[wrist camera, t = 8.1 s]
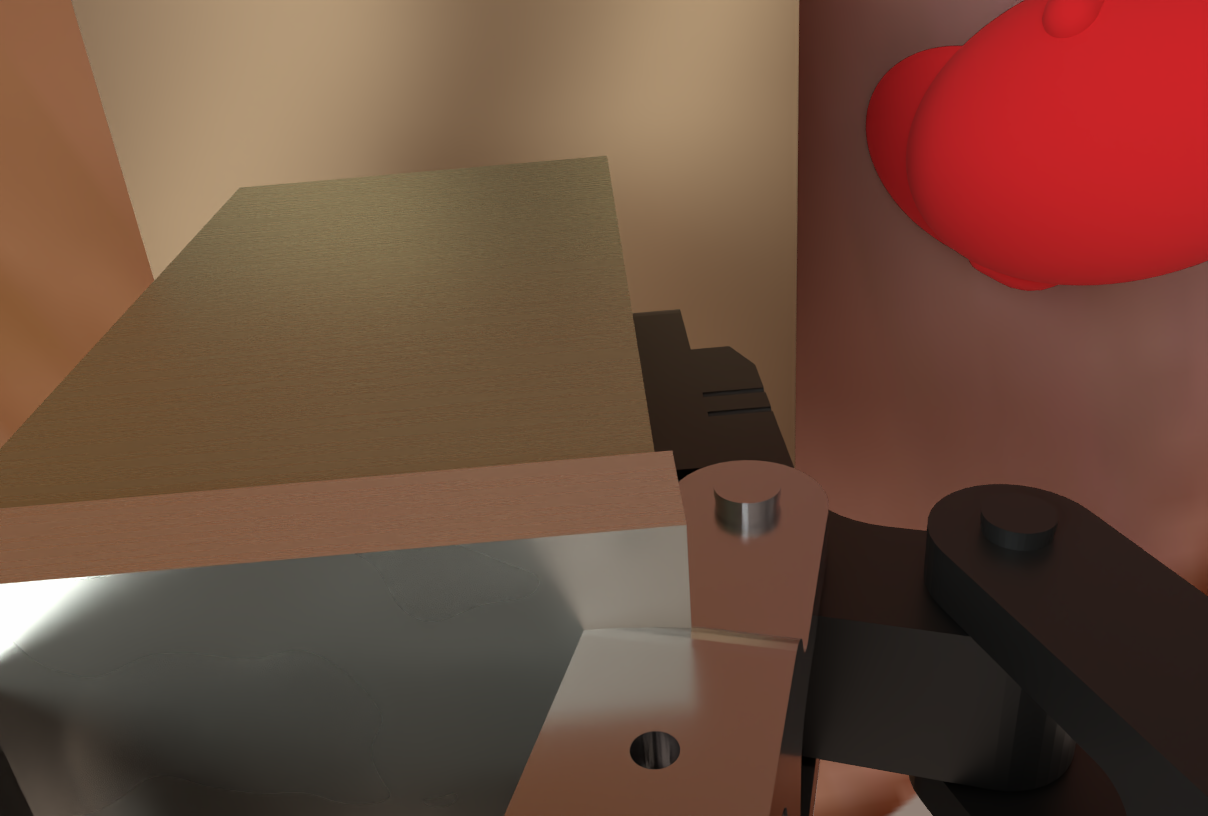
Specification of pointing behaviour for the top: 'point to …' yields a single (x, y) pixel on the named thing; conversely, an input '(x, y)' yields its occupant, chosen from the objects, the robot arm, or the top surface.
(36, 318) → the top surface
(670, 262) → the beige flat block
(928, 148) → the cap
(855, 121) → the top surface
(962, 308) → the top surface
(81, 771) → the tea tin
